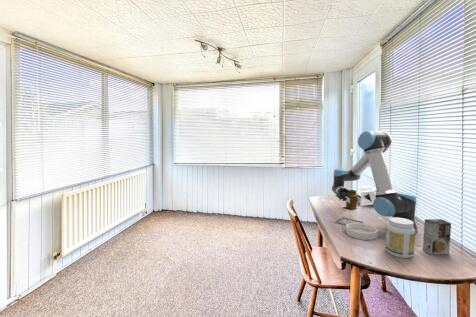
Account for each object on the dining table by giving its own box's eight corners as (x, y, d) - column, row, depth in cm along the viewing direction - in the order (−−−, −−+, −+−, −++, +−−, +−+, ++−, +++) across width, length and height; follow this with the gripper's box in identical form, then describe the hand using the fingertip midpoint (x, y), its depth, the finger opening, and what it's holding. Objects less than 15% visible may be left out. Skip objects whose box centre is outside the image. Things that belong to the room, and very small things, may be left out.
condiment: (359, 209, 163) (360, 190, 162) (351, 211, 159) (351, 192, 158) (349, 206, 170) (349, 188, 168) (341, 208, 165) (341, 190, 164)
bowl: (381, 234, 151) (381, 227, 151) (372, 242, 139) (372, 235, 139) (351, 226, 163) (352, 220, 163) (341, 234, 151) (341, 227, 150)
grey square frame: (363, 222, 172) (363, 221, 172) (356, 227, 162) (356, 227, 162) (342, 217, 181) (342, 217, 181) (334, 222, 171) (334, 221, 171)
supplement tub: (403, 247, 133) (406, 216, 131) (419, 259, 121) (422, 225, 119) (380, 247, 133) (382, 216, 132) (393, 258, 121) (395, 224, 120)
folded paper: (362, 186, 207) (385, 189, 202) (357, 181, 230) (378, 184, 225) (359, 206, 209) (382, 210, 204) (355, 199, 232) (375, 202, 227)
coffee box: (438, 248, 132) (441, 218, 131) (449, 254, 126) (452, 223, 124) (421, 248, 132) (424, 218, 130) (431, 254, 126) (434, 223, 124)
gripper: (356, 198, 181) (370, 207, 158) (329, 197, 183) (338, 206, 160) (356, 187, 180) (370, 195, 157) (329, 187, 182) (339, 194, 159)
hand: (354, 200), depth 159 cm, fingers closed on condiment, 6 cm apart
